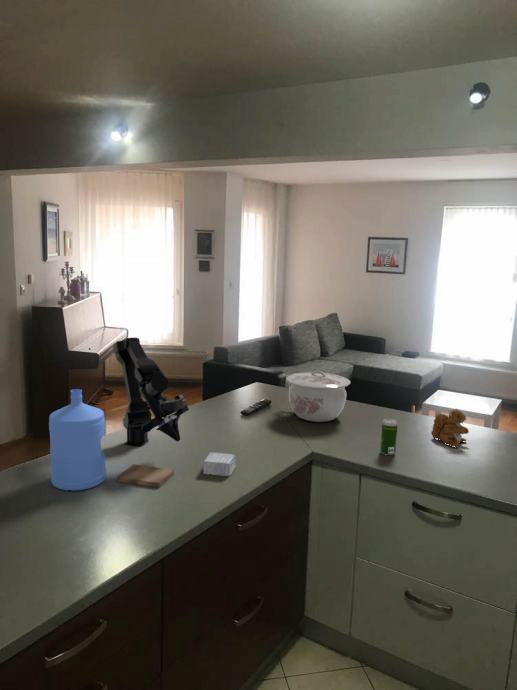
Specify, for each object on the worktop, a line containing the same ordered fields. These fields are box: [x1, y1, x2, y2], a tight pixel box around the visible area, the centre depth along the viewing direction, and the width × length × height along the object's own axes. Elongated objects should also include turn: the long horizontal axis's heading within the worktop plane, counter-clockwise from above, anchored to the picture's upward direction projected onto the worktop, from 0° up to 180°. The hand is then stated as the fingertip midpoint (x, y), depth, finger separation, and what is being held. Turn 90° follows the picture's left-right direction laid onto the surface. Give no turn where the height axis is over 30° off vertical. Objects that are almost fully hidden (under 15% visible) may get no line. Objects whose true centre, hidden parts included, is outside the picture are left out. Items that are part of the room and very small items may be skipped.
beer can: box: [379, 418, 399, 456], centre depth 186 cm, size 5×5×12 cm
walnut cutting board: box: [116, 463, 175, 489], centre depth 161 cm, size 14×10×2 cm
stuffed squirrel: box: [430, 408, 470, 448], centre depth 200 cm, size 10×14×13 cm
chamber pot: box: [285, 370, 351, 423], centre depth 225 cm, size 28×28×21 cm
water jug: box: [48, 388, 107, 492], centre depth 156 cm, size 16×16×28 cm
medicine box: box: [202, 451, 236, 477], centre depth 168 cm, size 8×4×9 cm
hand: (178, 440), depth 171 cm, fingers closed
